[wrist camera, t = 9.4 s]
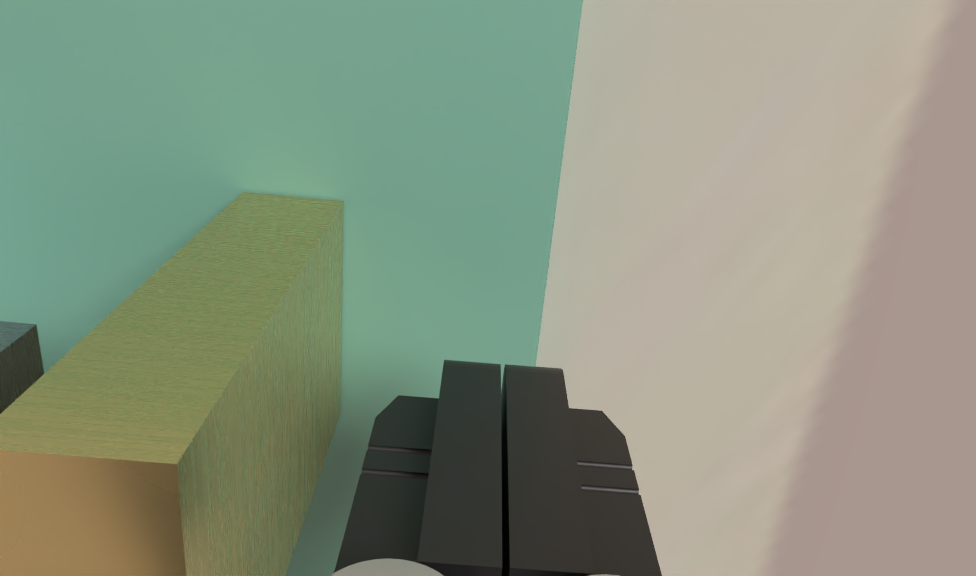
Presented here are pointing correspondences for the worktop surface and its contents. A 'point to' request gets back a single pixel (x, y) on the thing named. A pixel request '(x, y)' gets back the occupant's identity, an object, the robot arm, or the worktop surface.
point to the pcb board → (294, 174)
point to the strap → (18, 360)
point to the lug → (187, 410)
